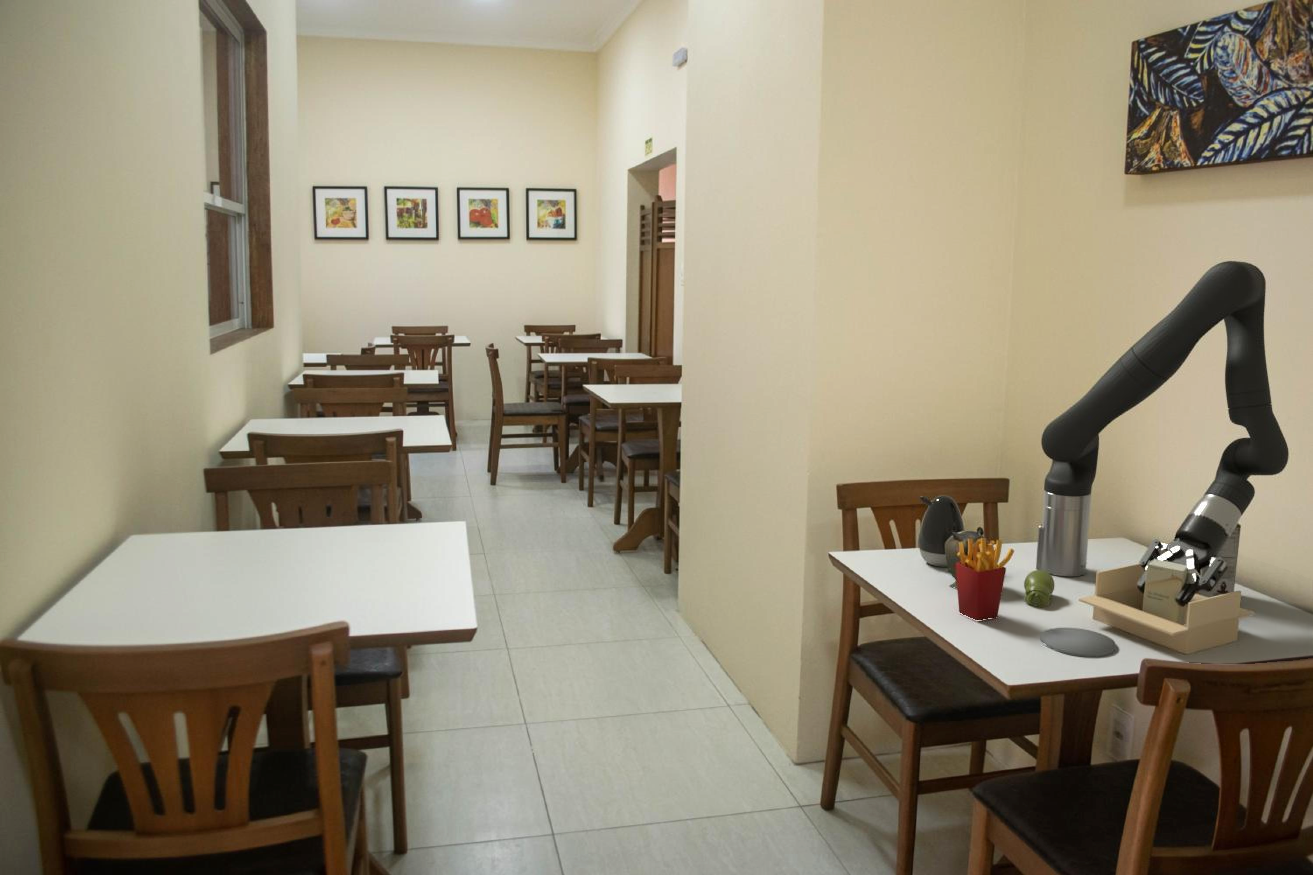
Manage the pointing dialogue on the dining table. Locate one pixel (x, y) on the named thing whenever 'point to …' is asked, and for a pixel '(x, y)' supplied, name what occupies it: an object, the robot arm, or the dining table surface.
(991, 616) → the french fries
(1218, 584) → the coffee box
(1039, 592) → the pear
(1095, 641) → the coaster
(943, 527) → the dark grey rounded figure
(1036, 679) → the dining table surface
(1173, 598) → the skincare box
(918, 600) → the dining table surface
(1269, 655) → the dining table surface
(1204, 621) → the carton
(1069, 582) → the dining table surface
